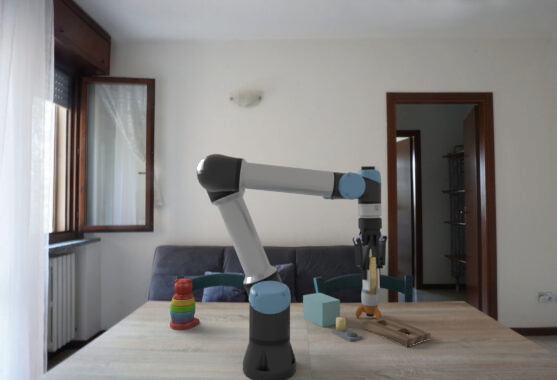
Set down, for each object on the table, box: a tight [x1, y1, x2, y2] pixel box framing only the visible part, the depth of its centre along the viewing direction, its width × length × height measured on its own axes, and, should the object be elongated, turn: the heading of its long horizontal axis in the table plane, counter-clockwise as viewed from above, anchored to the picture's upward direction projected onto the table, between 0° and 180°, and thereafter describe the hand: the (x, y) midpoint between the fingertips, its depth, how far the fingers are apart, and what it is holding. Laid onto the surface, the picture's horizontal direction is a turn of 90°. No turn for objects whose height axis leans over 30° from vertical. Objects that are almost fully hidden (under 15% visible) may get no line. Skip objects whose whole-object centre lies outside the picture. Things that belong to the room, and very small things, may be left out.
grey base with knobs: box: [331, 316, 363, 342], centre depth 127 cm, size 6×10×5 cm, turn 31°
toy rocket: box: [355, 287, 382, 319], centre depth 145 cm, size 10×11×15 cm
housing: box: [302, 292, 341, 328], centre depth 143 cm, size 9×13×9 cm
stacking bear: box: [169, 278, 201, 331], centre depth 136 cm, size 11×10×18 cm
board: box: [362, 316, 432, 347], centre depth 128 cm, size 12×20×2 cm, turn 31°
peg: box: [366, 255, 377, 295], centre depth 117 cm, size 4×4×12 cm
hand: (371, 288), depth 117 cm, fingers closed on peg, 3 cm apart
